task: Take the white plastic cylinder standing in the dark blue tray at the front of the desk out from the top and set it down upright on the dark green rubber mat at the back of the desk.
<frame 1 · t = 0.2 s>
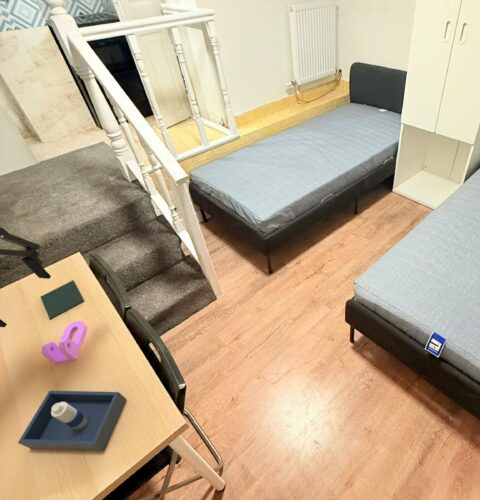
hand: (24, 299, 76), 25 cm above the table, tool pointing down, fingers open, 13 cm apart
bracket: (73, 342, 97), on the table
desk mat: (62, 299, 109), on the table
dark blue tray: (82, 423, 81), on the table
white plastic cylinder: (80, 422, 81), point 1 cm above the table, touching dark blue tray
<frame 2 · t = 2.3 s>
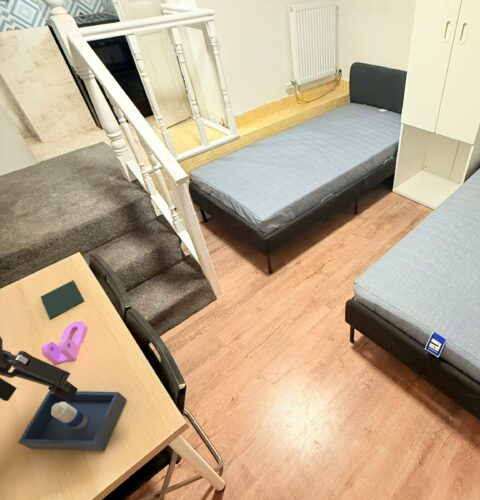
hand: (41, 394, 70), 16 cm above the table, tool pointing down, fingers open, 13 cm apart
nothing on the table moved.
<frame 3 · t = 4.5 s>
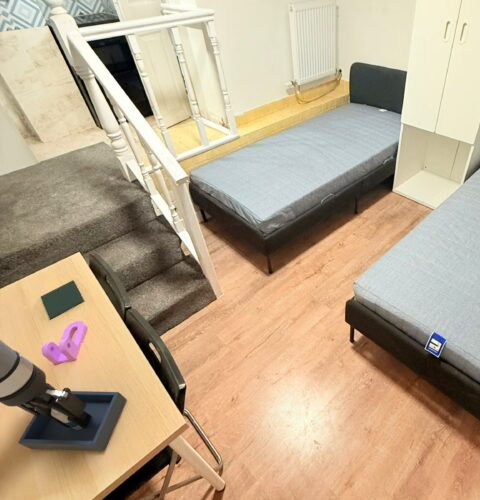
hand: (79, 421, 80), 1 cm above the table, tool pointing down, fingers closed on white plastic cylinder, 3 cm apart
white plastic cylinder: (80, 422, 81), point 1 cm above the table, touching dark blue tray, gripper
everything else where it was.
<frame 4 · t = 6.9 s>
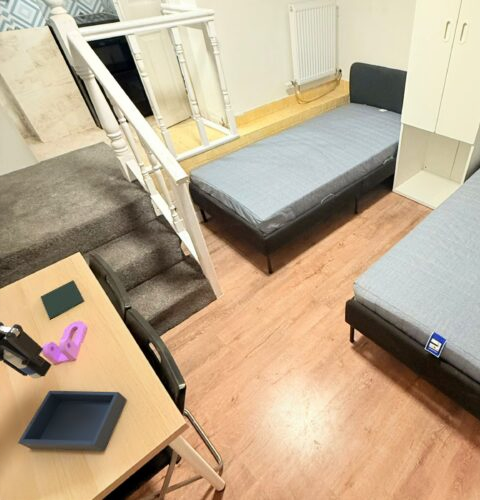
hand: (37, 370, 74), 16 cm above the table, tool pointing down, fingers closed on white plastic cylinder, 3 cm apart
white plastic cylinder: (40, 371, 75), point 15 cm above the table, touching gripper
everything else where it was.
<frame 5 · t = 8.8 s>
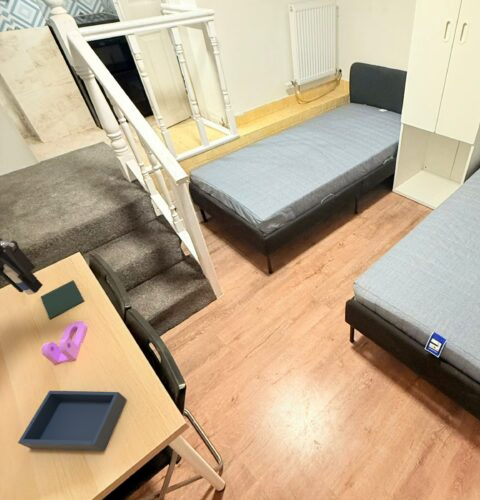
hand: (31, 288, 91), 16 cm above the table, tool pointing down, fingers closed on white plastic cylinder, 3 cm apart
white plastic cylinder: (33, 290, 91), point 16 cm above the table, touching gripper
everything else where it was.
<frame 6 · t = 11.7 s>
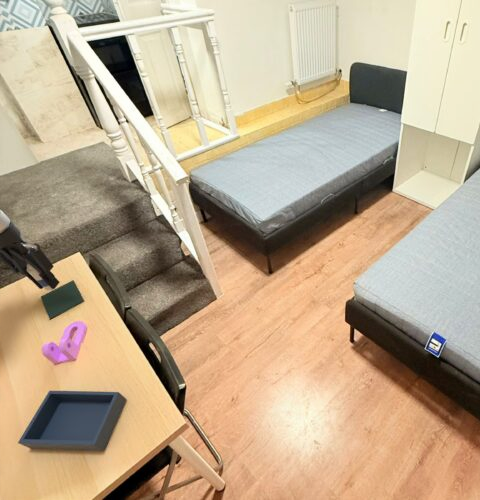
hand: (49, 285, 104), 7 cm above the table, tool pointing down, fingers closed on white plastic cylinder, 3 cm apart
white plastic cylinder: (51, 286, 104), point 6 cm above the table, touching gripper
everything else where it was.
when the fingers open (1 cm above the table, at t = 13.3 s): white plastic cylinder stays where it is, resting on desk mat.
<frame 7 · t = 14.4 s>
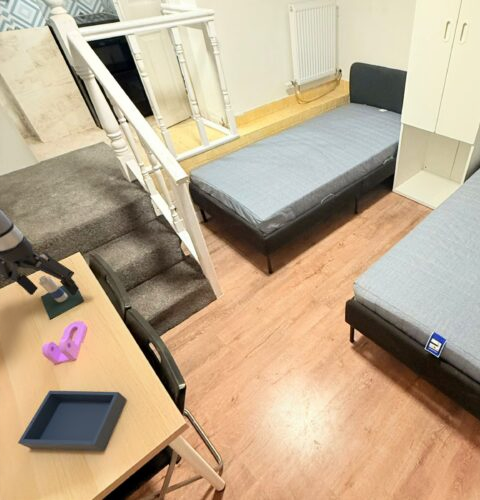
hand: (54, 291, 106), 4 cm above the table, tool pointing down, fingers open, 13 cm apart
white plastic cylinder: (62, 298, 108), resting on desk mat
everything else where it was.
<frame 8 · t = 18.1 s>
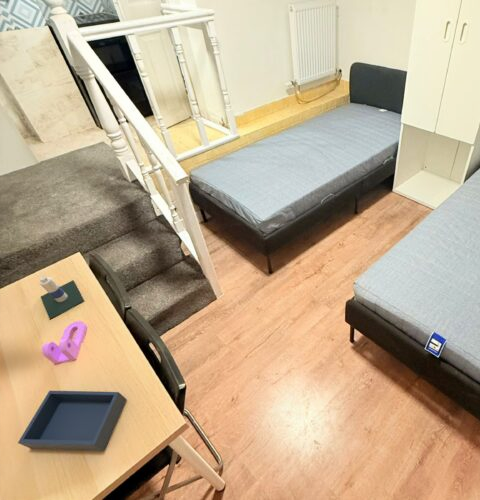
nothing on the table moved.
at the end: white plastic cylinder inside the target area on the desk mat (0.1 cm from its centre), point 0.5 cm above the desk mat's base; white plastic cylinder tilted 0°; the gripper is holding nothing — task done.
